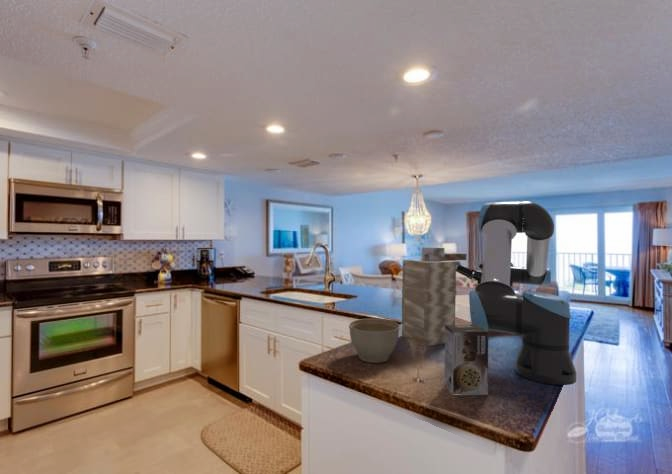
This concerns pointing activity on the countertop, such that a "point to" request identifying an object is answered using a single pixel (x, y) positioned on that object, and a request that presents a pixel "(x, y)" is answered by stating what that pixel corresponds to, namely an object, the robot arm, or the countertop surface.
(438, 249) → the brown box and bar
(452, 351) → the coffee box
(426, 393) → the countertop surface
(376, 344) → the planter bowl
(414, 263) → the birch shelf
